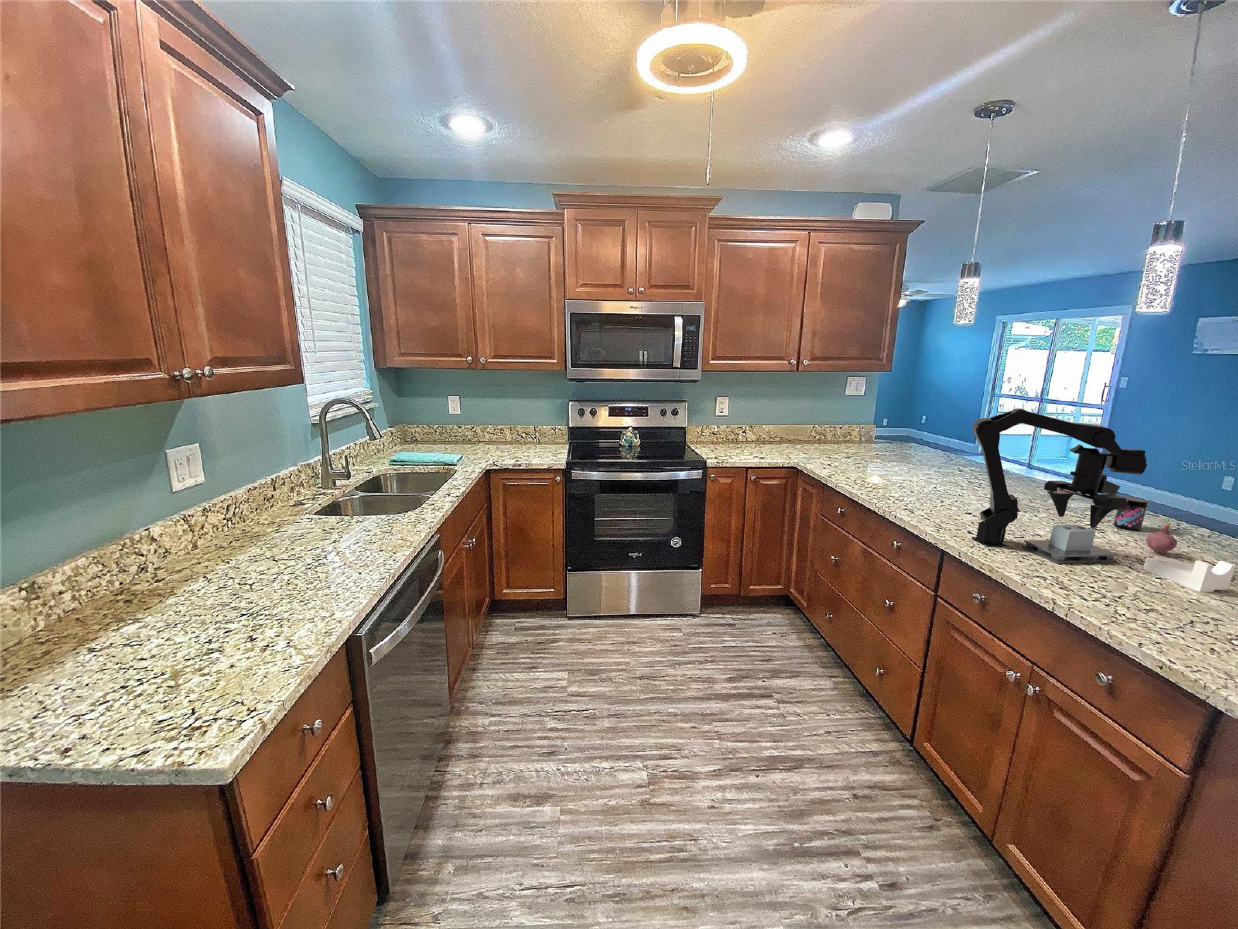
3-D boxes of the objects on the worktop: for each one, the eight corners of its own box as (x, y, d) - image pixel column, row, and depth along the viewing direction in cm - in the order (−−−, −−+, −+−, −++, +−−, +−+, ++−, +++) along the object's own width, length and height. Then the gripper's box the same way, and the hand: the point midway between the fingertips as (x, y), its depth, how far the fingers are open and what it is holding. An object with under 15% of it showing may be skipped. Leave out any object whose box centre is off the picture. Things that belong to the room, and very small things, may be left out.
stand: (1056, 563, 135) (1058, 555, 135) (1022, 548, 146) (1024, 540, 145) (1115, 562, 136) (1117, 554, 136) (1077, 547, 147) (1079, 539, 146)
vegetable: (1167, 559, 139) (1177, 527, 137) (1138, 551, 145) (1147, 520, 142) (1176, 556, 142) (1186, 524, 139) (1147, 548, 147) (1156, 517, 145)
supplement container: (1107, 525, 167) (1114, 496, 165) (1122, 524, 168) (1130, 495, 166) (1130, 532, 161) (1138, 502, 158) (1146, 531, 162) (1154, 501, 159)
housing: (1090, 550, 138) (1096, 530, 137) (1065, 550, 138) (1070, 530, 136) (1073, 543, 143) (1078, 524, 142) (1048, 544, 143) (1053, 524, 141)
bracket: (1226, 593, 120) (1235, 565, 119) (1199, 593, 120) (1208, 565, 118) (1167, 570, 133) (1175, 544, 131) (1142, 569, 133) (1150, 544, 131)
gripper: (1153, 478, 127) (1138, 533, 130) (1082, 462, 145) (1070, 511, 148) (1114, 478, 126) (1100, 534, 129) (1047, 462, 144) (1036, 511, 147)
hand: (1076, 522), depth 139 cm, fingers open, 9 cm apart
